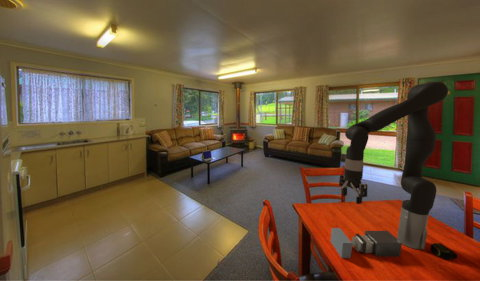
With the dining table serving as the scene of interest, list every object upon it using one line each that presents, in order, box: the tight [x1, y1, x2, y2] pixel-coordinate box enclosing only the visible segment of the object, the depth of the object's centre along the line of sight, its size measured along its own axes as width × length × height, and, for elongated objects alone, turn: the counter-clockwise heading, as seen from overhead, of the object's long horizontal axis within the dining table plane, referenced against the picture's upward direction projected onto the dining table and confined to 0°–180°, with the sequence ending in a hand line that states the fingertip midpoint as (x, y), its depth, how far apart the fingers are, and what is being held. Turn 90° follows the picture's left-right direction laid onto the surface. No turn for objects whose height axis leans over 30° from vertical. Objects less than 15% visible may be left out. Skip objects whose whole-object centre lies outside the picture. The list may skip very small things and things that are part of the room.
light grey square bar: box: [351, 233, 375, 255], centre depth 82 cm, size 17×6×6 cm, turn 89°
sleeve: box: [364, 230, 403, 258], centre depth 82 cm, size 10×8×7 cm
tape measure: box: [430, 242, 458, 261], centre depth 79 cm, size 7×7×4 cm
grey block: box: [330, 227, 353, 259], centre depth 82 cm, size 4×10×7 cm, turn 178°
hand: (351, 199), depth 88 cm, fingers open, 8 cm apart
